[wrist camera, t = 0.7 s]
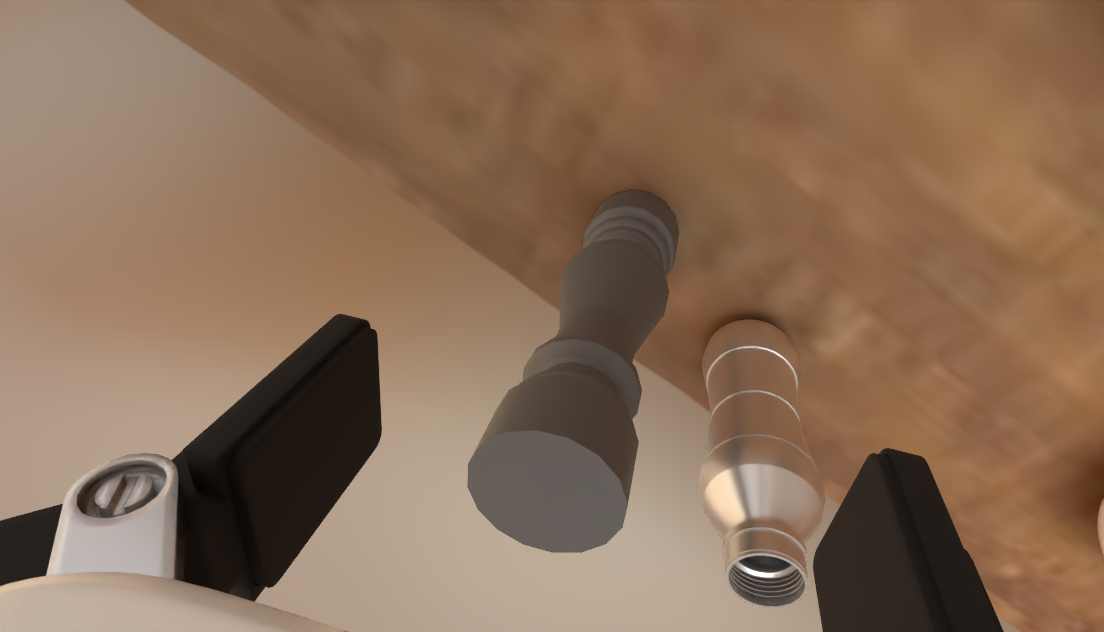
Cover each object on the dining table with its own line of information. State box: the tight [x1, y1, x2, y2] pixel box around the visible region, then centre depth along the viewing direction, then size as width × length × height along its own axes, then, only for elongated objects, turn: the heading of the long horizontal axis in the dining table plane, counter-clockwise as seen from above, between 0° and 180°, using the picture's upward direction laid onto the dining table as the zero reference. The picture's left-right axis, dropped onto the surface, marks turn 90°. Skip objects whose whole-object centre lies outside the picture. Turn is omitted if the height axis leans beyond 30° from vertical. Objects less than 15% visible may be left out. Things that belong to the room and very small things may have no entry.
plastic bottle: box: [698, 319, 825, 608], centre depth 35 cm, size 6×7×20 cm
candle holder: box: [468, 190, 679, 552], centre depth 31 cm, size 6×6×25 cm
